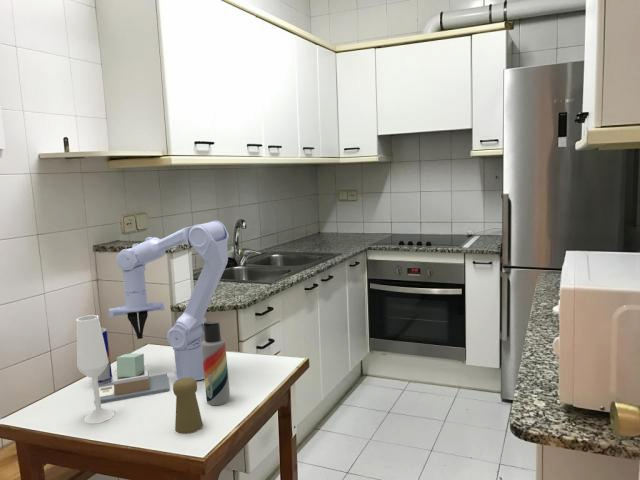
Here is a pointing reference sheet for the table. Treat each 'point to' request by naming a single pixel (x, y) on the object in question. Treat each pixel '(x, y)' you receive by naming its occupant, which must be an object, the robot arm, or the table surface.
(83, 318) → the champagne flute
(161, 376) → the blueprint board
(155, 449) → the table surface
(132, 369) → the sage block
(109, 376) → the beverage can
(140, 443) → the table surface
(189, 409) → the cork
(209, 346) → the lotion bottle
